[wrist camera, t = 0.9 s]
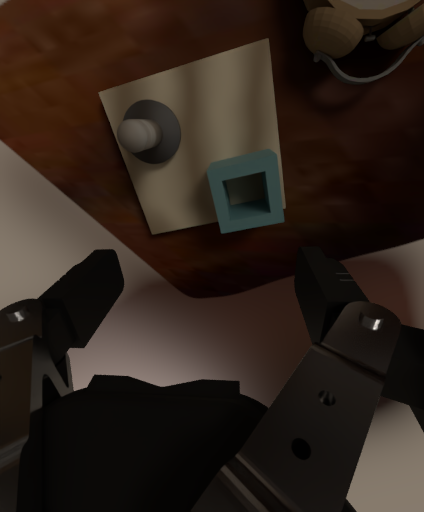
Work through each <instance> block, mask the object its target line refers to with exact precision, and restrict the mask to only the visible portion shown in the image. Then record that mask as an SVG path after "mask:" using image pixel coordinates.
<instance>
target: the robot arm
mask: <svg viewBox="0 0 424 512" xmlns="http://www.w3.org/2000/svg"><path fill="white" fill-rule="evenodd" d="M294 282H295V293H296V296H297V298H298V302H299V305H300V308H301V311H302V314H303V317H304V320H305V323H306V326H307V329H308V332H309V335H310V338H311V341H312V344H313V345H312V346H311V347H310V349H309V350H308V352H307V353H306V354H305V356H304V357H303V359H302V360H301V362H300V364H299V365H298V366H297V368H296V369H295V371H294V372H293V374H292V375H291V376H290V378H289V379H288V381H287V382H286V384H285V385H284V387H283V388H282V390H281V391H280V393H279V394H278V396H277V397H276V399H275V400H274V401H273V403H272V404H271V406H270V407H269V408H268V407H266V406H265V405H263V404H262V403H260V402H258V401H256V400H254V399H252V398H250V397H248V396H245V395H242V394H240V386H239V385H240V384H239V381H226V380H204V379H202V380H196V381H192V382H186V383H181V384H176V385H171V386H166V387H160V386H156V385H153V384H150V383H147V382H144V381H141V380H138V379H135V378H132V377H129V376H114V375H94V376H93V378H92V380H91V382H90V383H89V385H88V387H87V388H83V389H80V390H77V391H74V390H73V383H72V374H71V367H70V359H69V356H68V354H67V351H68V349H69V348H84V347H85V346H86V345H87V343H88V342H89V340H90V339H91V337H92V336H93V334H94V333H95V331H96V330H97V328H98V327H99V325H100V324H101V322H102V321H103V319H104V318H105V316H106V315H107V313H108V312H109V311H110V309H111V308H112V306H113V305H114V303H115V302H116V300H117V299H118V297H119V296H120V294H121V293H122V291H123V288H124V278H123V274H122V271H121V267H120V264H119V260H118V257H117V254H116V252H115V251H114V250H113V249H105V250H104V249H103V250H95V251H93V252H92V253H91V254H90V255H89V256H88V257H87V258H86V259H85V260H83V261H82V262H81V263H79V264H77V265H75V266H73V267H72V268H71V269H70V270H69V271H68V272H67V273H66V275H63V276H62V277H61V278H60V279H59V281H57V282H56V283H54V285H52V286H51V287H50V288H49V289H48V290H47V291H45V292H44V293H43V294H42V295H41V296H40V297H39V298H38V299H25V300H21V301H18V302H15V303H13V304H11V305H9V306H7V307H5V308H3V309H2V310H0V512H356V510H355V509H354V508H353V507H352V505H351V504H350V503H349V502H348V500H347V499H346V496H347V493H348V490H349V487H350V484H351V481H352V478H353V475H354V472H355V469H356V466H357V463H358V460H359V457H360V454H361V451H362V448H363V445H364V442H365V439H366V436H367V433H368V430H369V427H370V425H371V422H372V418H373V415H374V412H375V409H376V406H377V404H378V401H379V398H380V396H383V397H386V398H389V399H392V400H395V401H398V402H401V403H404V404H407V405H409V406H410V408H411V410H412V411H413V413H414V415H415V417H416V419H417V421H418V422H419V424H420V426H421V428H422V430H423V432H424V330H423V329H419V328H414V327H410V326H406V325H402V324H401V322H400V320H399V319H398V317H397V316H396V315H395V314H394V313H393V312H391V311H390V310H388V309H386V308H385V307H383V306H380V305H378V304H375V303H371V302H369V300H368V299H367V297H366V296H365V295H364V293H363V292H362V290H361V289H360V288H359V286H358V285H357V284H356V282H355V281H353V278H352V277H351V275H350V274H349V273H348V271H347V270H346V268H345V267H344V266H343V265H342V264H341V263H340V262H338V261H336V260H335V259H333V258H326V257H325V255H324V254H323V252H322V250H321V249H320V247H318V246H316V247H299V249H298V253H297V262H296V270H295V280H294Z"/></svg>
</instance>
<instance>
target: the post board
mask: <svg viewBox="0 0 424 512" xmlns="http://www.w3.org/2000/svg"><path fill="white" fill-rule="evenodd" d="M98 93H99V95H100V98H101V101H102V103H103V106H104V109H105V111H106V114H107V116H108V119H109V122H110V124H111V127H112V130H113V132H114V135H115V138H116V140H117V143H118V146H119V148H120V151H121V153H122V156H123V159H124V161H125V164H126V167H127V169H128V172H129V175H130V177H131V180H132V182H133V185H134V188H135V190H136V193H137V196H138V198H139V201H140V204H141V206H142V209H143V212H144V214H145V217H146V219H147V222H148V225H149V227H150V230H151V233H152V235H153V234H158V233H163V232H168V231H173V230H178V229H183V228H188V227H193V226H198V225H203V224H208V223H213V222H218V217H217V213H216V209H215V205H214V200H213V196H212V192H211V188H210V184H209V179H208V175H207V169H208V167H209V166H210V164H211V162H215V161H220V160H224V159H228V158H232V157H236V156H240V155H244V154H248V153H253V152H257V151H261V150H265V149H271V150H272V151H273V152H275V153H276V154H277V158H278V168H279V177H280V186H281V196H282V205H283V209H284V208H286V205H285V196H284V186H283V176H282V166H281V156H280V146H279V136H278V127H277V117H276V107H275V97H274V87H273V77H272V67H271V57H270V48H269V38H267V39H263V40H260V41H257V42H254V43H251V44H248V45H245V46H242V47H239V48H235V49H232V50H229V51H226V52H223V53H220V54H217V55H214V56H210V57H207V58H204V59H201V60H198V61H195V62H192V63H189V64H185V65H182V66H179V67H176V68H173V69H170V70H167V71H164V72H161V73H157V74H154V75H151V76H148V77H145V78H142V79H139V80H136V81H132V82H129V83H126V84H123V85H120V86H117V87H114V88H111V89H108V90H104V91H101V92H98ZM226 185H227V190H228V195H229V199H230V204H231V205H235V204H239V203H244V202H249V201H254V200H259V199H263V198H265V196H264V189H263V182H262V175H261V172H259V173H255V174H250V175H246V176H242V177H237V178H233V179H228V180H226Z"/></svg>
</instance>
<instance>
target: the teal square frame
mask: <svg viewBox="0 0 424 512" xmlns="http://www.w3.org/2000/svg"><path fill="white" fill-rule="evenodd" d="M259 172H261V175H262V182H263V189H264V196H265V198H263V199H259V200H254V201H249V202H244V203H239V204H235V205H231V204H230V199H229V195H228V190H227V185H226V180H228V179H233V178H237V177H242V176H246V175H250V174H255V173H259ZM207 175H208V179H209V184H210V188H211V192H212V196H213V200H214V205H215V209H216V213H217V217H218V222H219V226H220V230H221V234H223V233H228V232H233V231H239V230H244V229H249V228H254V227H260V226H265V225H270V224H276V223H281V222H284V215H283V205H282V196H281V186H280V177H279V168H278V158H277V154H276V153H275V152H273V151H272V150H271V149H265V150H261V151H257V152H253V153H248V154H244V155H240V156H236V157H232V158H228V159H224V160H220V161H215V162H211V164H210V166H209V167H208V169H207Z"/></svg>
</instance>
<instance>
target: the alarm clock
mask: <svg viewBox="0 0 424 512" xmlns="http://www.w3.org/2000/svg"><path fill="white" fill-rule="evenodd" d="M303 1H304V4H305V6H306V9H307V11H308V13H307V16H306V18H305V22H304V27H303V38H304V41H305V44H306V46H307V47H308V49H309V50H310V51H311V52H312V53H314V59H313V61H314V62H318V61H319V60H320V59H321V60H322V61H324V62H325V63H326V64H327V66H328V67H329V69H330V71H331V72H332V74H333V75H334V76H335V77H336V78H337V79H339V80H340V81H342V82H344V83H348V84H365V83H369V82H372V81H374V80H376V79H379V78H381V77H383V76H385V75H387V74H388V73H390V72H391V71H392V70H394V69H395V68H396V67H397V66H398V65H399V64H400V63H401V62H402V61H403V60H404V58H405V57H406V56H407V54H408V53H409V52H410V51H411V50H412V49H413V47H414V46H415V45H418V46H421V45H422V44H424V4H422V5H421V6H420V7H418V8H417V9H415V10H414V7H413V6H414V5H415V4H417V3H418V2H419V1H421V0H303ZM407 11H408V14H409V15H407V16H406V17H404V18H403V19H402V20H400V21H399V22H398V23H396V24H395V25H394V26H392V27H391V28H389V29H388V30H387V31H385V32H384V33H383V34H381V35H380V36H379V37H377V38H376V40H377V42H378V43H379V45H380V46H381V47H383V48H384V49H388V50H393V49H398V48H401V47H404V46H406V45H408V44H410V43H412V42H413V43H412V44H411V45H410V46H408V47H407V48H406V49H405V50H404V51H403V52H402V53H401V54H400V55H399V57H398V58H397V59H396V61H395V62H394V63H393V64H392V65H391V66H390V67H389V68H388V69H387V70H385V71H384V72H383V73H381V74H379V75H377V76H373V77H369V78H355V77H350V76H348V75H346V74H345V73H343V72H342V71H341V70H340V69H339V68H338V67H337V65H336V64H335V62H334V61H333V60H332V59H337V58H341V57H343V56H345V55H347V54H349V53H350V52H351V51H352V50H353V49H354V48H355V47H356V45H357V44H358V43H359V41H360V40H361V38H362V36H363V35H365V34H368V33H369V36H366V37H365V39H364V41H365V42H367V41H373V40H374V39H375V35H371V34H372V32H374V31H377V30H380V29H382V28H385V27H386V26H388V25H389V24H391V23H392V22H393V21H395V20H396V19H397V18H399V17H400V16H402V15H403V14H404V13H406V12H407ZM414 41H415V42H414Z"/></svg>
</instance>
